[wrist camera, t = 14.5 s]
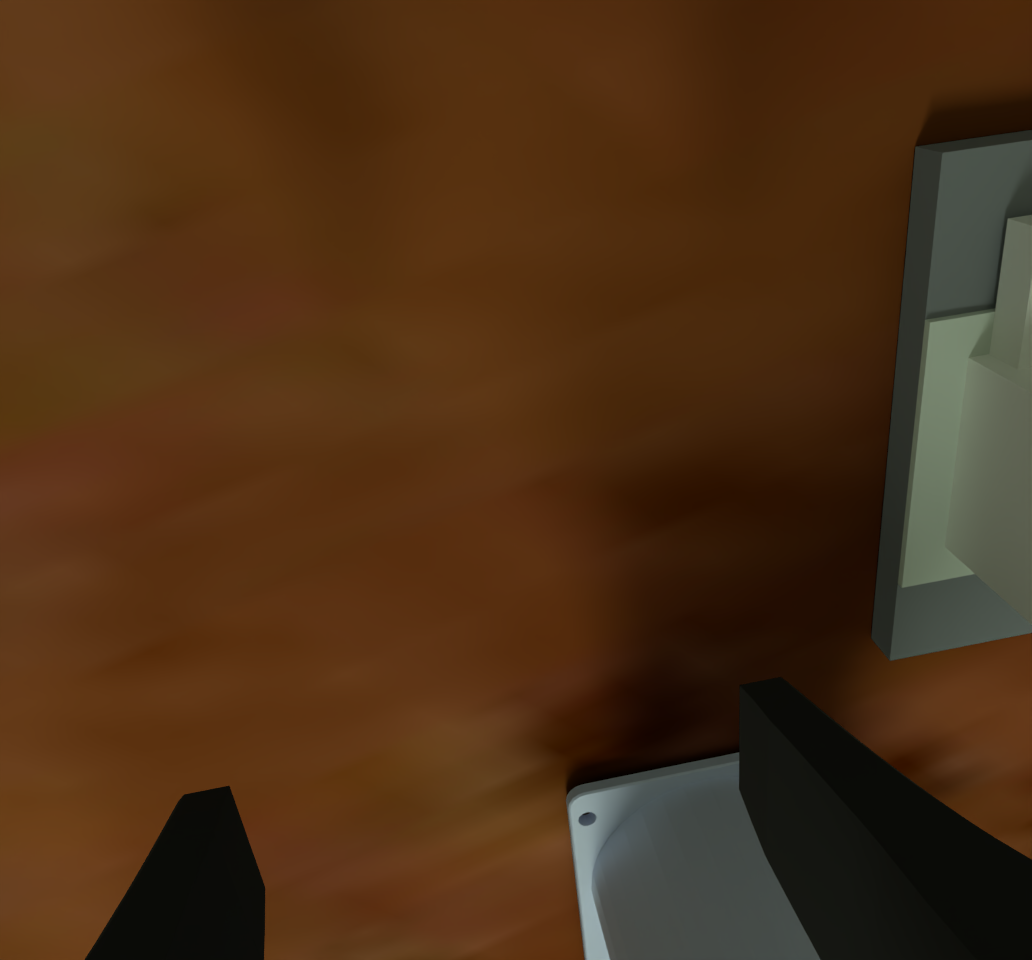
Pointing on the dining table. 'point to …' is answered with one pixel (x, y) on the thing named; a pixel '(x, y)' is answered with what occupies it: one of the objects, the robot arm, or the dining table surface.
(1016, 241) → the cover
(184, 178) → the dining table surface
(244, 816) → the dining table surface
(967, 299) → the housing plate
